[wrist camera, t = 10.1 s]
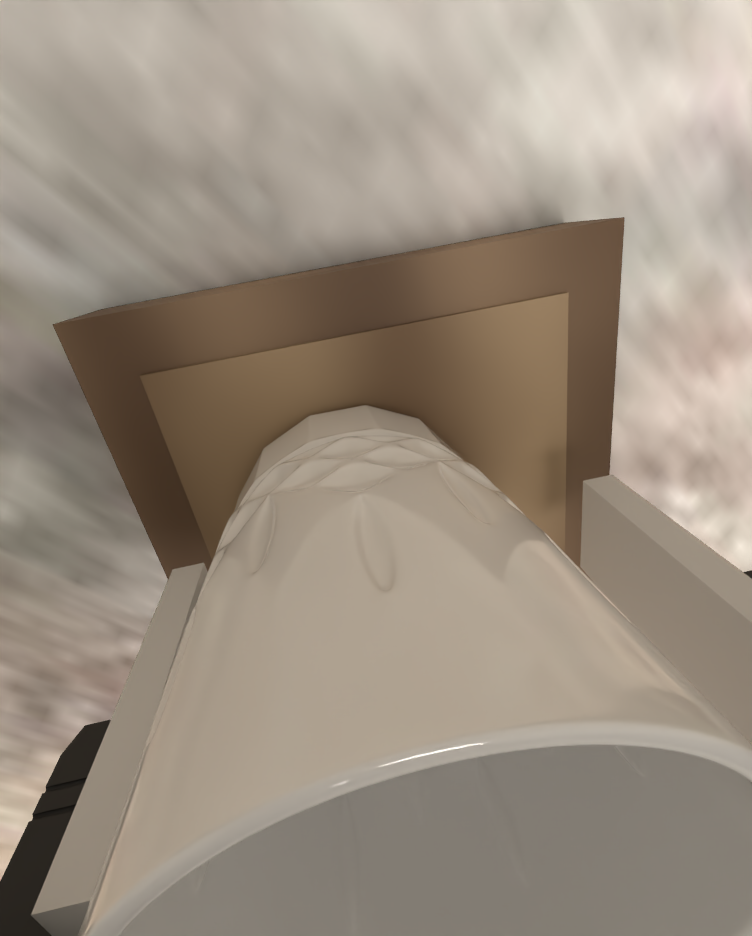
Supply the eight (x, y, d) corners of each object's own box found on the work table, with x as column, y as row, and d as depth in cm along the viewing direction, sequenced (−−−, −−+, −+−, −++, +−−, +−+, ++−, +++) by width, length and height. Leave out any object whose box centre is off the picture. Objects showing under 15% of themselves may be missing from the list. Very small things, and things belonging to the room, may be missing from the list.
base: (241, 653, 20) (230, 721, 17) (102, 309, 14) (49, 325, 11) (561, 581, 21) (602, 634, 18) (564, 222, 14) (628, 217, 12)
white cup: (328, 654, 16) (369, 1157, 7) (155, 494, 13) (-170, 1067, 4) (527, 528, 15) (855, 930, 6) (395, 320, 12) (702, 547, 3)
